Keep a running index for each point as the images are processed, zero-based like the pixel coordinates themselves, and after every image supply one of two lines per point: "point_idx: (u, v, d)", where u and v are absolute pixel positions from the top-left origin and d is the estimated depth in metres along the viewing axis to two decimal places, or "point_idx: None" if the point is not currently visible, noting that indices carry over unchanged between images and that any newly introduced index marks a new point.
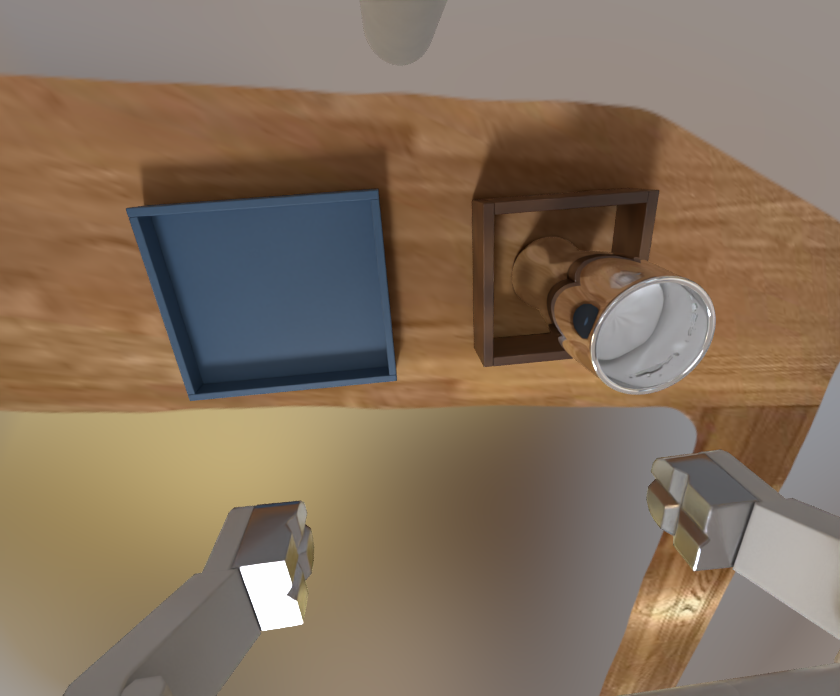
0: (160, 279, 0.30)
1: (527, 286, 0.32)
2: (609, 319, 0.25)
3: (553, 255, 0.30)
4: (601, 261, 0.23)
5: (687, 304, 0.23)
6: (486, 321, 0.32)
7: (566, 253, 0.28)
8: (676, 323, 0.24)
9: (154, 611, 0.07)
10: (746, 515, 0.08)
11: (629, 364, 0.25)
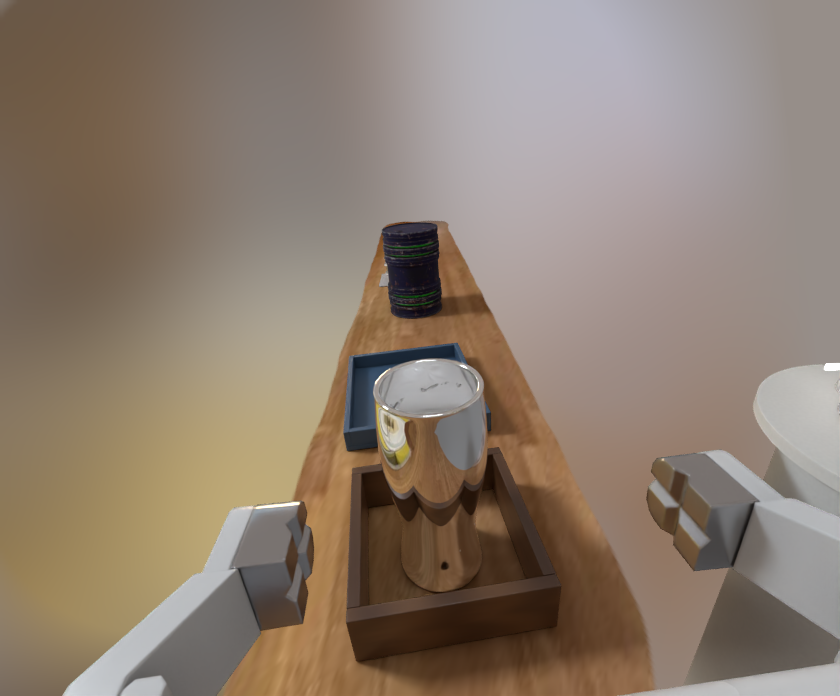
0: (422, 350, 0.57)
1: None
2: None
3: None
4: None
5: (455, 438, 0.23)
6: None
7: None
8: None
9: (154, 611, 0.07)
10: (746, 515, 0.08)
11: None
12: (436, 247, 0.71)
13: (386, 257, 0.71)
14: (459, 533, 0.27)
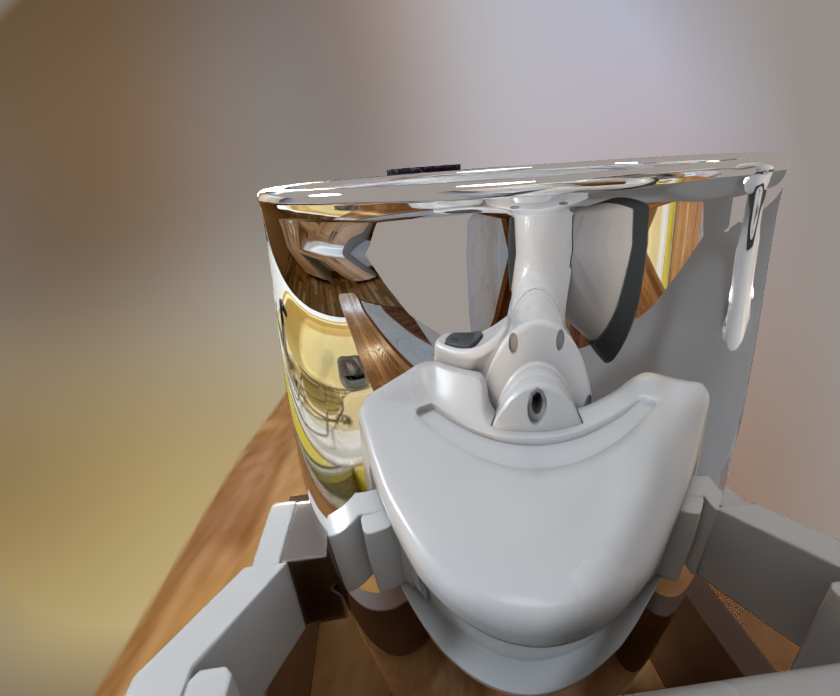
0: None
1: None
2: None
3: None
4: None
5: (671, 378, 0.04)
6: None
7: None
8: None
9: (209, 604, 0.07)
10: None
11: None
12: None
13: None
14: None
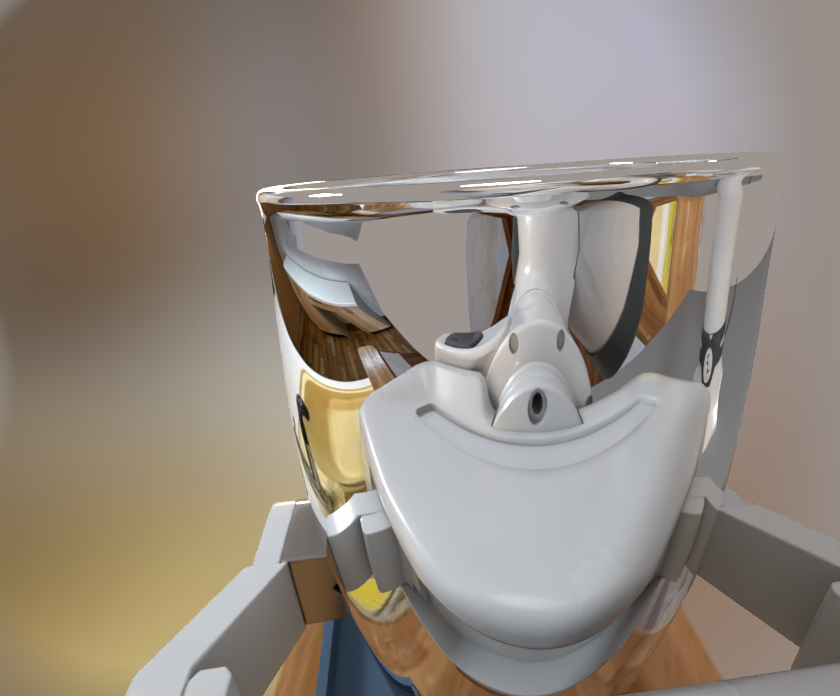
0: None
1: None
2: None
3: None
4: None
5: (672, 378, 0.04)
6: None
7: None
8: None
9: (209, 604, 0.07)
10: None
11: None
12: None
13: None
14: None
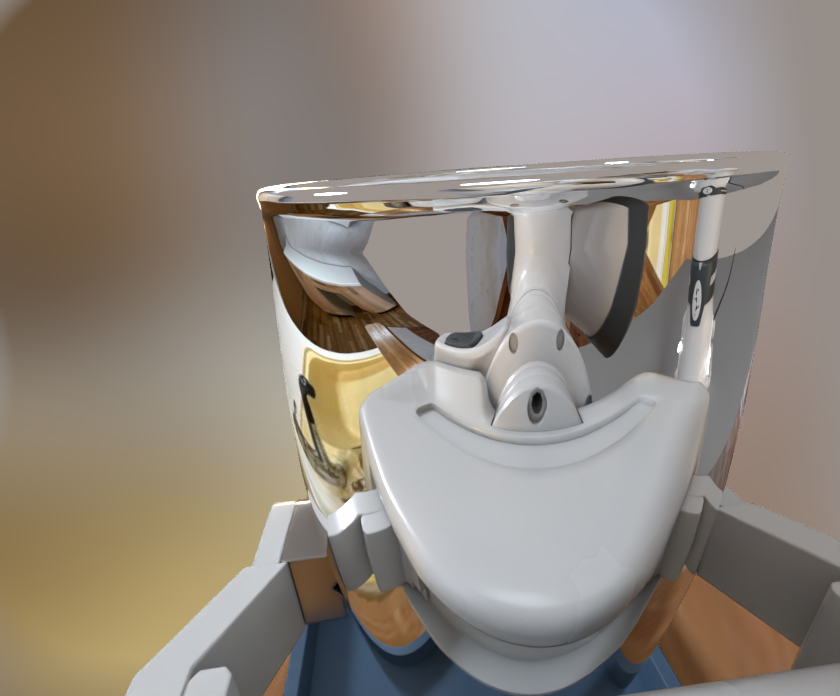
0: None
1: None
2: None
3: None
4: None
5: (670, 376, 0.04)
6: None
7: None
8: None
9: (209, 604, 0.07)
10: None
11: None
12: None
13: None
14: None
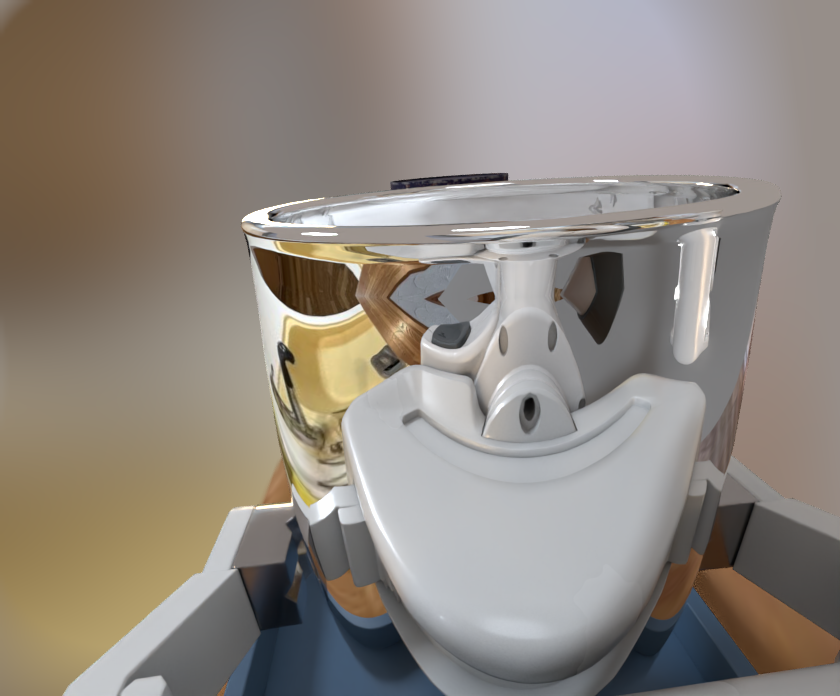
0: None
1: None
2: None
3: None
4: None
5: (659, 414, 0.04)
6: None
7: None
8: None
9: (154, 611, 0.07)
10: (746, 515, 0.08)
11: None
12: None
13: None
14: None
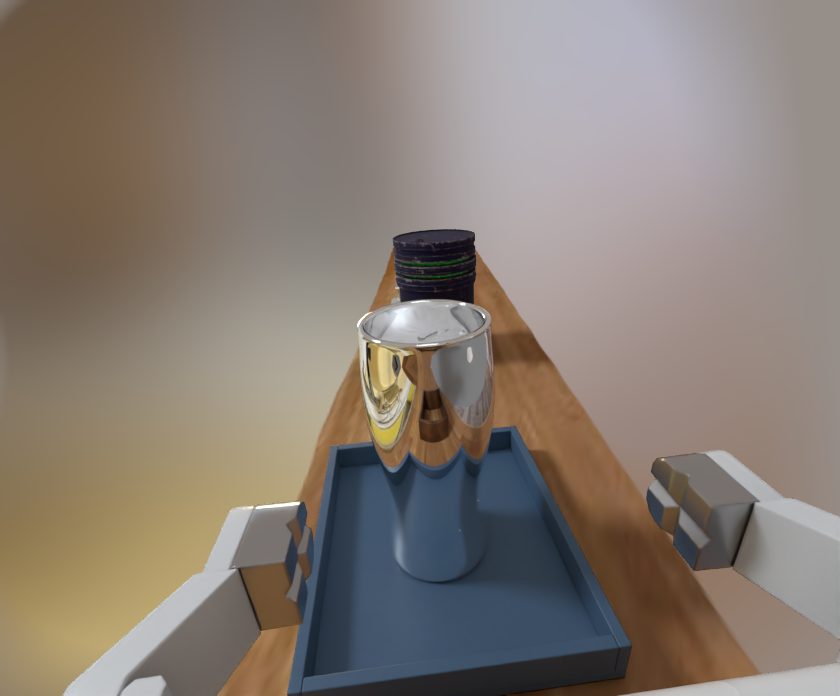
0: None
1: None
2: None
3: None
4: None
5: (454, 379, 0.18)
6: None
7: None
8: None
9: (154, 611, 0.07)
10: (746, 515, 0.08)
11: None
12: (473, 264, 0.47)
13: (398, 278, 0.48)
14: (458, 507, 0.22)
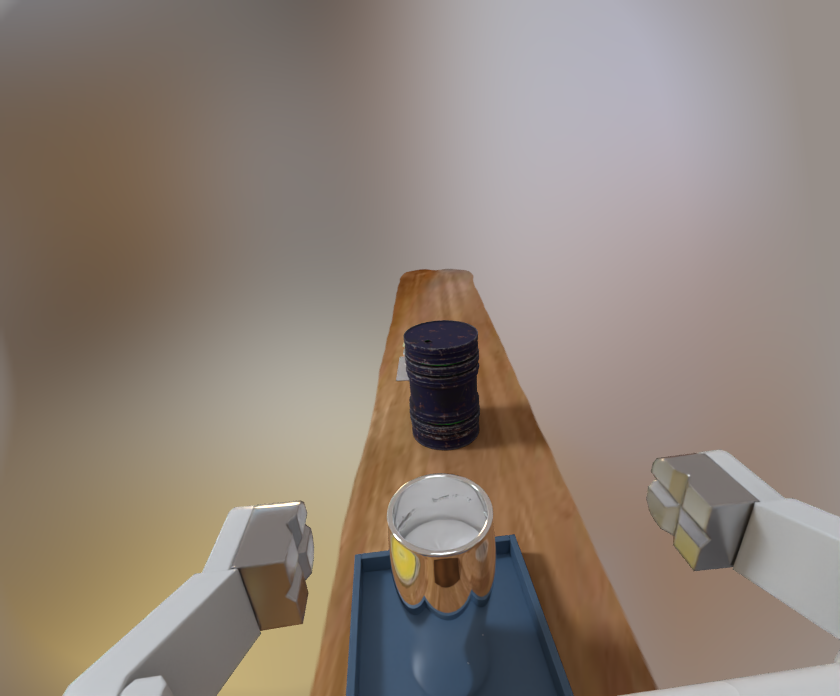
0: None
1: None
2: None
3: None
4: None
5: (465, 571, 0.24)
6: None
7: None
8: None
9: (154, 611, 0.07)
10: (746, 515, 0.08)
11: None
12: (476, 360, 0.53)
13: (409, 372, 0.54)
14: (467, 648, 0.27)
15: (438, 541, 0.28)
